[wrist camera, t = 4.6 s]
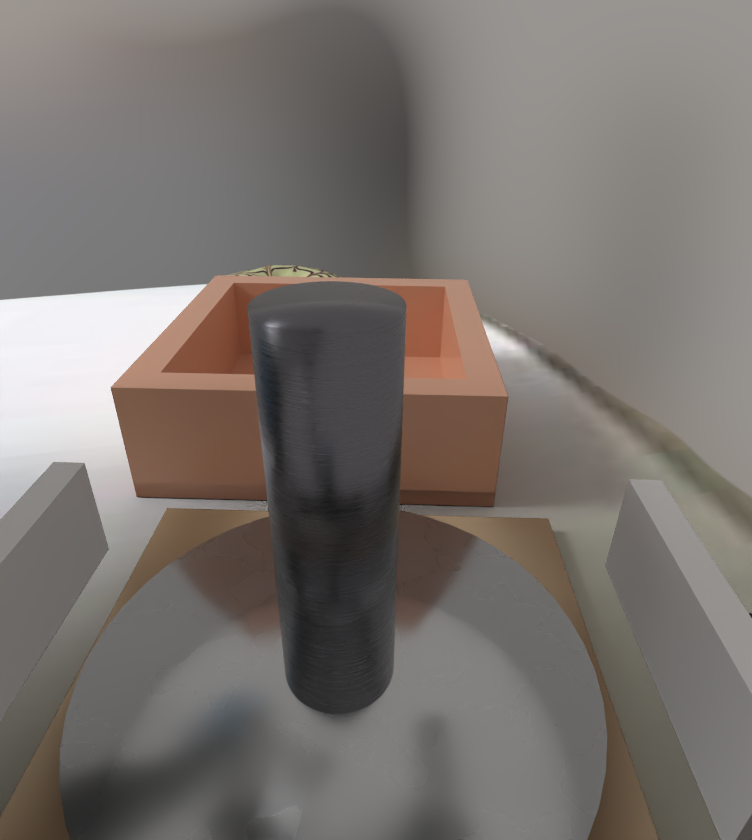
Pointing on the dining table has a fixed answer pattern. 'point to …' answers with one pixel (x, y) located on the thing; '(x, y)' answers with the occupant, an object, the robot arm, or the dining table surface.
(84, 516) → the robot arm
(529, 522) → the trivet
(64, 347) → the dining table surface
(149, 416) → the terracotta square tray
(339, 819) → the lid
